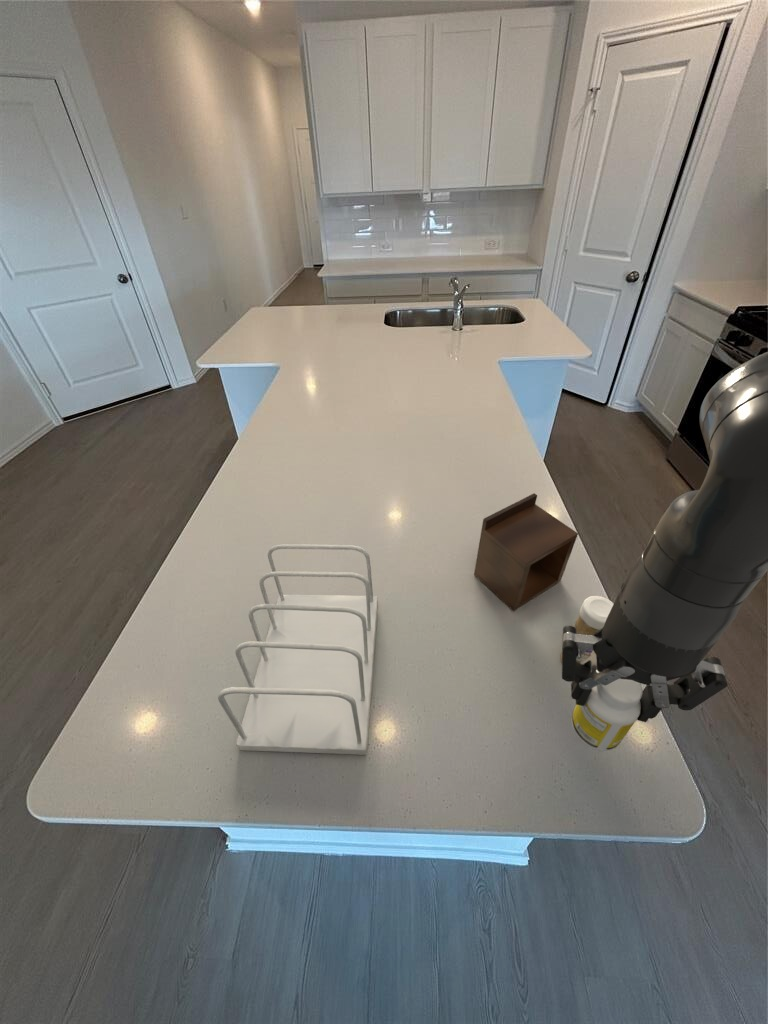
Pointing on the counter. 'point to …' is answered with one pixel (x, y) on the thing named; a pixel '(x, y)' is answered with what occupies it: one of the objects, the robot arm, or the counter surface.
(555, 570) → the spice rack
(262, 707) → the file sorter
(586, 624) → the sprinkles bottle
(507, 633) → the counter surface
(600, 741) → the supplement bottle
